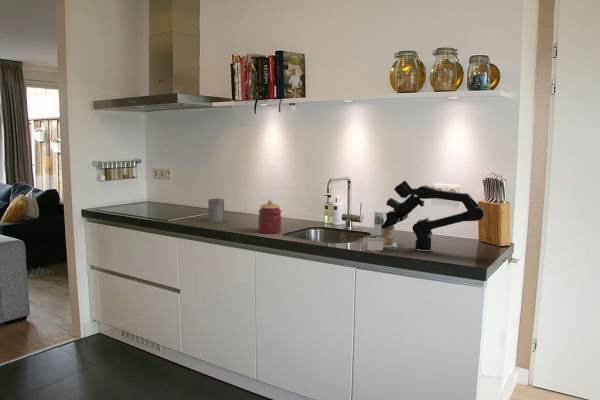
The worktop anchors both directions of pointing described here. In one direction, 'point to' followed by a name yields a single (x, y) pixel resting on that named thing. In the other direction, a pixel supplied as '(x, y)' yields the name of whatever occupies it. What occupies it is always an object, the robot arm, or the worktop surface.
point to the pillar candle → (216, 210)
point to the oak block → (387, 235)
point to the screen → (375, 244)
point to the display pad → (391, 245)
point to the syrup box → (379, 222)
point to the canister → (269, 218)
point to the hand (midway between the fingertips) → (385, 226)
